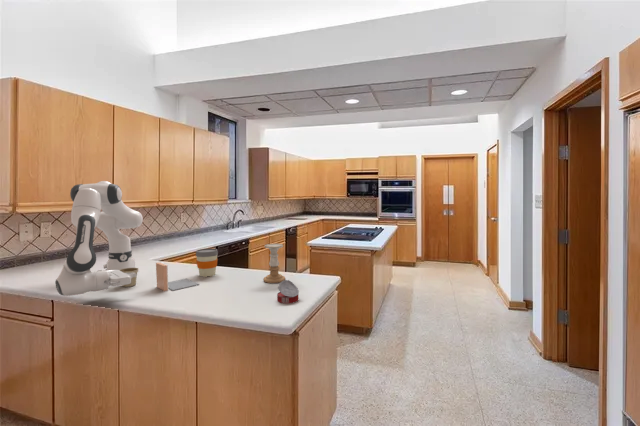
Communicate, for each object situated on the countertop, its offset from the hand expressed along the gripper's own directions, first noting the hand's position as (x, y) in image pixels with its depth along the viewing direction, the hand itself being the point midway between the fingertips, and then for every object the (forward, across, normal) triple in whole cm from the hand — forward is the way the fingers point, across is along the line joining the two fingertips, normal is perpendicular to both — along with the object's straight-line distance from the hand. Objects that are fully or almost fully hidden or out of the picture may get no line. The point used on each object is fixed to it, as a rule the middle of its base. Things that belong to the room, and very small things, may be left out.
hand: (135, 274), depth 155 cm
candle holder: (+62, -30, +10) cm, 69 cm away
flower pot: (+2, +20, +10) cm, 22 cm away
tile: (+12, 0, +10) cm, 16 cm away
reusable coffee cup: (+41, +9, +10) cm, 43 cm away
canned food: (+46, -60, +11) cm, 76 cm away
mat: (+21, 0, +10) cm, 24 cm away
